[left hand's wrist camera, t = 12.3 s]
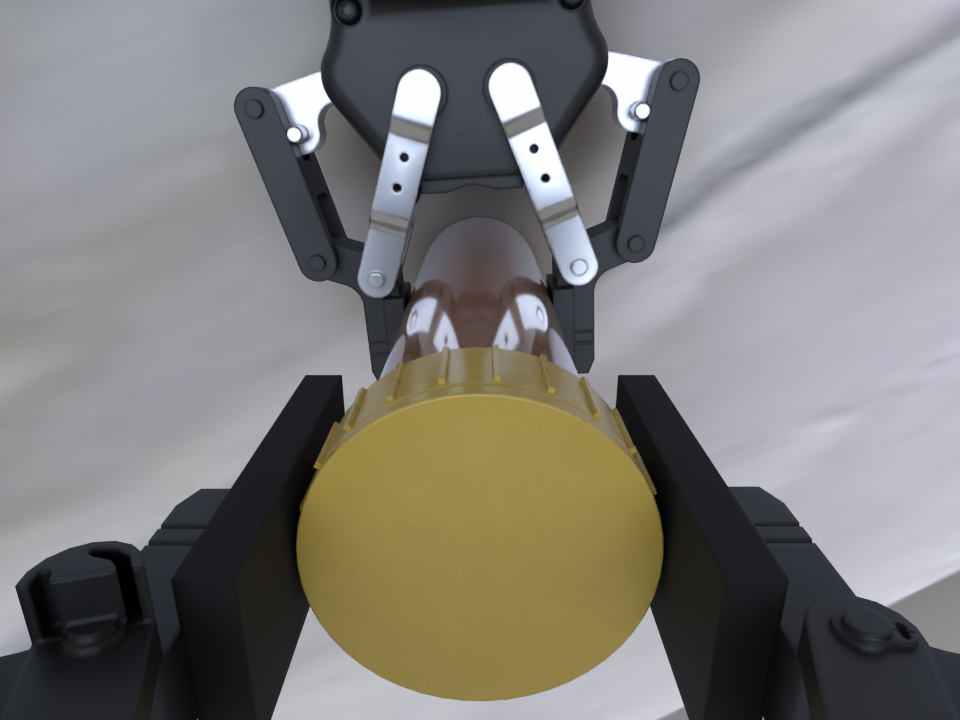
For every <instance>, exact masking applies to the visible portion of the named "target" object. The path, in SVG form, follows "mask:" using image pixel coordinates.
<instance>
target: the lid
mask: <svg viewBox="0 0 960 720" xmlns="http://www.w3.org/2000/svg"><path fill="white" fill-rule="evenodd" d="M314 468H316V472H315V474H314V476H313V478H312V480H311V483H310V485H309V487H308V489H307V491H306V494H305V496H304V498H303V500H302V502H301V505H300V509H299V511H301V513H300V517H299V521H298V526H297V538H296V555H297V566H298V571H299V575H300V579H301V584H302V587H303V590H304V592H305V595H306V597H307V600H308V602H309V605H310V607H311V608H312V610H313V612H314V614H315V615H316V617H317V619H318V621H319V622H320V624H321V625H322V626H323V628H324V629H325V630H326V632H327V633H328V634H329V635H330V637H331V638H332V639H333V640H334V641H335V642H336V643H337V644H338V645H339V646H340V647H341V648H342V649H343V650H344V651H345V652H346V653H347V654H348V655H349V656H351V657H352V658H353V659H355V660H356V661H357V662H358V663H360V664H361V665H362V666H364V667H365V668H367V669H369V670H370V671H372V672H374V673H375V674H377V675H378V676H380V677H382V678H384V679H386V680H388V681H391V682H393V683H395V684H397V685H399V686H402V687H405V688H408V689H411V690H413V691H416V692H419V693H423V694H427V695H432V696H436V697H440V698H447V699H455V700H463V701H493V700H507V699H513V698H518V697H524V696H529V695H533V694H536V693H540V692H543V691H547V690H550V689H552V688H555V687H557V686H560V685H562V684H565V683H568V682H570V681H572V680H574V679H575V678H577V677H579V676H581V675H583V674H585V673H587V672H588V671H590V670H591V669H593V668H594V667H596V666H597V665H599V664H600V663H601V662H603V661H604V660H606V659H607V658H608V657H609V656H610V655H611V654H612V653H614V652H615V651H616V650H617V649H618V648H619V647H620V646H621V645H622V644H623V643H624V642H625V641H626V640H627V639H628V637H629V636H630V635H631V634H632V633H633V632H634V630H635V629H636V628H637V626H638V625H639V623H640V622H641V620H642V619H643V617H644V616H645V614H646V612H647V610H648V608H649V606H650V604H651V602H652V600H653V598H654V595H655V592H656V589H657V586H658V583H659V579H660V576H661V570H662V563H663V557H664V536H663V529H662V523H661V517H660V513H659V510H658V507H657V504H656V501H655V498H654V495H655V494H657V492H656V489H655V487H654V484H653V482H652V480H651V478H650V476H649V474H648V472H647V469H646V467H645V465H644V463H643V461H642V459H641V456H640V454H639V452H638V450H637V448H636V446H634V444H633V442H632V440H631V437H630V435H629V433H628V431H627V429H626V427H625V424H624V422H623V420H622V418H621V416H620V414H619V412H618V410H617V409H616V408H614V409H613V410H611V408H610V407H609V406H608V404H607V403H606V402H605V401H604V400H603V399H602V398H601V397H600V396H599V395H598V394H597V393H596V392H595V390H594V389H592V388H591V386H590V384H589V381H588V379H587V378H585V377H584V376H583V377H582V378H581V379H580V378H579V377H577V376H575V375H574V374H572V373H570V372H569V371H567V370H565V369H564V368H562V367H560V366H558V365H556V364H554V363H552V362H549V361H548V360H547V356H545V355H543V354H541V355H540V357H537V356H533V355H530V354H526V353H523V352H519V351H514V350H507V349H501V348H499V345H498V344H492V348H486V347H471V348H460V349H451V350H449V346H447V347H443V348H442V352H437V353H433V354H429V355H426V356H424V357H421V358H418V359H415V360H412V361H410V362H408V363H406V364H403V362H402V361H401V362H399V363H397V364H396V367H395V369H394V370H392V371H391V372H389V373H388V374H386V375H385V376H383V377H382V378H380V379H379V380H377V381H376V382H375V383H373V384H372V385H371V386H370V387H369V388H368V389H367V390H365V389H364V388H363V387H362V388H361V389H360V390H359V392H358V394H357V396H356V399H355V401H354V403H353V405H352V406H351V407H350V408H349V409H348V411H347V412H346V414H345V415H344V417H343V419H342V420H341V422H340V423H337V422H334V424H333V426H332V428H331V430H330V433H329V435H328V437H327V439H326V441H325V443H324V445H323V448H322V450H321V452H320V454H319V456H318V458H317V460H316V463H315V465H314Z"/></svg>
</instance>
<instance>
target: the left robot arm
mask: <svg viewBox="0 0 960 720" xmlns="http://www.w3.org/2000/svg"><path fill="white" fill-rule="evenodd" d="M616 409H617V410H618V412H619V414H620V416H621V418H622V420H623V422H624V424H625V427H626V429H627V431H628V433H629V435H630V437H631V440H632V442H633V444H634V446H636V448H637V450H638V452H639V454H640V456H641V459H642V461H643V463H644V465H645V467H646V469H647V472H648V474H649V476H650V478H651V480H652V482H653V484H654V487H655V489H656V492H657V494H655V495H654V498H655V501H656V504H657V507H658V510H659V513H660V517H661V523H662V529H663V536H664V557H663V563H662V570H661V576H660V579H659V583H658V586H657V589H656V592H655V595H654V598H653V600H652V602H651V604H650V607H651V610H652V613H653V616H654V619H655V622H656V625H657V628H658V631H659V633H660V636H661V639H662V642H663V645H664V648H665V651H666V654H667V657H668V660H669V663H670V665H671V668H672V671H673V674H674V677H675V680H676V683H677V686H678V689H679V692H680V695H681V697H682V700H683V703H684V706H685V709H686V712H687V715H688V718H689V720H762V717H764V719H765V720H960V654H957V653H953V652H948V651H944V650H940V649H937V648H933V647H930V646H929V645H928V643H927V641H926V640H925V638H924V637H923V636H922V634H921V633H920V631H919V630H918V629H917V627H915V626H914V625H913V624H912V623H910V622H909V621H908V620H907V619H905V618H904V617H903V616H902V615H900V614H899V613H897V612H895V611H893V610H891V609H889V608H887V607H885V606H883V605H881V604H879V603H877V602H874V601H871V600H867V599H864V598H860V597H857V596H856V595H855V594H854V593H853V592H852V590H851V589H850V588H849V586H848V585H847V584H846V583H845V581H844V580H843V579H842V577H841V576H840V575H839V573H838V572H837V571H836V570H835V568H834V567H833V566H832V564H831V563H830V562H829V561H828V559H827V558H826V557H825V555H824V554H823V553H822V552H821V550H820V549H819V548H818V546H817V545H816V544H815V543H812V539H811V537H810V536H809V535H808V534H807V532H806V531H805V530H804V528H803V527H800V526H799V522H798V521H797V519H796V518H795V517H794V515H793V514H792V513H791V512H790V510H789V509H788V508H787V506H786V505H785V504H784V503H783V502H781V501H780V500H778V499H777V498H775V497H774V496H772V495H771V494H769V493H768V492H766V491H765V490H763V489H762V488H760V487H728V486H727V485H726V483H725V482H724V480H723V479H722V477H721V476H720V474H719V473H718V471H717V470H716V468H715V467H714V465H713V463H712V462H711V460H710V459H709V457H708V456H707V454H706V453H705V451H704V450H703V448H702V447H701V445H700V444H699V442H698V441H697V439H696V438H695V436H694V435H693V433H692V432H691V430H690V429H689V427H688V426H687V424H686V423H685V421H684V420H683V418H682V416H681V415H680V413H679V412H678V410H677V409H676V407H675V406H674V404H673V403H672V401H671V400H670V398H669V397H668V395H667V394H666V392H665V391H664V389H663V388H662V386H661V385H660V383H659V382H658V380H657V379H656V377H655V376H654V375H618V386H617V399H616ZM344 415H345V411H344V399H343V386H342V375H306V376H305V377H304V379H303V380H302V382H301V383H300V385H299V386H298V388H297V389H296V391H295V392H294V394H293V395H292V397H291V398H290V400H289V401H288V403H287V404H286V406H285V407H284V409H283V410H282V412H281V413H280V415H279V417H278V418H277V420H276V421H275V423H274V424H273V426H272V427H271V429H270V430H269V432H268V433H267V435H266V436H265V438H264V439H263V441H262V442H261V444H260V445H259V447H258V448H257V450H256V451H255V453H254V454H253V456H252V457H251V459H250V460H249V462H248V463H247V465H246V467H245V468H244V470H243V471H242V473H241V474H240V476H239V477H238V479H237V480H236V482H235V483H234V485H233V486H232V488H231V489H200V490H199V491H197V492H196V493H194V494H193V495H191V496H190V497H188V498H187V499H185V500H184V501H182V502H181V503H179V504H178V505H176V507H175V508H174V509H173V510H172V512H171V513H170V514H169V516H168V517H167V518H166V520H165V521H164V522H163V523H162V525H161V529H158V530H157V531H156V533H155V534H154V535H153V536H152V538H151V539H150V540H149V544H148V546H145V547H144V548H143V549H142V551H139V550H138V549H137V548H136V547H134V546H133V545H132V544H127V543H122V542H118V541H107V542H93V543H89V544H85V545H81V546H77V547H73V548H69V549H67V550H65V551H62V552H60V553H58V554H56V555H53V556H51V557H49V558H46V559H45V560H44V561H42V562H41V563H39V564H38V565H36V566H35V567H33V568H32V569H31V570H29V571H28V572H27V573H26V574H25V575H24V576H23V578H22V579H21V580H20V581H19V582H18V584H17V585H16V586H15V587H16V591H17V594H18V598H19V601H20V604H21V608H22V611H23V614H24V618H25V621H26V625H27V628H28V631H29V635H30V638H31V642H32V646H31V648H30V650H27V651H23V652H20V653H16V654H12V655H7V656H3V657H0V720H197V718H198V720H271V718H272V715H273V712H274V709H275V706H276V703H277V700H278V697H279V695H280V692H281V689H282V686H283V683H284V680H285V677H286V674H287V671H288V668H289V665H290V663H291V660H292V657H293V654H294V651H295V648H296V645H297V642H298V639H299V636H300V633H301V631H302V628H303V625H304V622H305V619H306V616H307V613H308V610H309V607H310V605H309V602H308V600H307V597H306V595H305V592H304V590H303V587H302V584H301V579H300V575H299V571H298V566H297V555H296V538H297V526H298V521H299V517H300V513H301V511H299V509H300V505H301V502H302V500H303V498H304V496H305V494H306V491H307V489H308V487H309V485H310V483H311V480H312V478H313V476H314V474H315V472H316V468H314V465H315V463H316V460H317V458H318V456H319V454H320V452H321V450H322V448H323V445H324V443H325V441H326V439H327V437H328V435H329V433H330V430H331V428H332V426H333V424H334V422H337V423H340V422H341V420H342V419H343V417H344Z"/></svg>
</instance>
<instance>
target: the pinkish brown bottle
mask: <svg viewBox="0 0 960 720" xmlns="http://www.w3.org/2000/svg"><path fill="white" fill-rule="evenodd" d="M492 344H498V345H499V348H501V349H507V350H514V351H519V352H523V353H526V354H530V355H533V356H537V357H540V355H541V354H543V355H545V356H547V360H548V361H549V362H552V363H554V364H556V365H558V366H560V367H562V368H564V369H565V370H567V371H569V372H570V373H572V374H574V375H575V376H577V377H579V374H578V371H577V369H576V366H575V363H574V361H573V358H572V355H571V353H570V350H569V347H568V345H567V342H566V339H565V337H564V334H563V331H562V329H561V326H560V323H559V321H558V318H557V315H556V313H555V310H554V307H553V305H552V302H551V299H550V297H549V294H548V291H547V289H546V286H545V283H544V281H543V278H542V275H541V273H540V270H539V267H538V264H537V262H536V259H535V256H534V254H533V251H532V249H531V247H530V245H529V244H528V242H527V241H526V239H525V238H524V237H523V236H522V235H521V234H520V233H519V232H518V231H517V230H516V229H515V228H513V227H512V226H510V225H509V224H507V223H505V222H502V221H500V220H497V219H494V218H488V217H472V218H467V219H463V220H460V221H457V222H455V223H453V224H451V225H450V226H448V227H447V228H445V229H444V230H443V231H442V232H441V233H440V234H438V235H437V237H436V238H435V239H434V240H433V242H432V243H431V245H430V247H429V249H428V251H427V253H426V256H425V259H424V261H423V264H422V267H421V269H420V272H419V275H418V277H417V280H416V283H415V285H414V288H413V291H412V293H411V296H410V299H409V301H408V304H407V307H406V309H405V312H404V315H403V317H402V320H401V323H400V325H399V328H398V331H397V333H396V336H395V339H394V341H393V344H392V347H391V349H390V352H389V355H388V357H387V360H386V363H385V365H384V368H383V371H382V373H381V376H380V378H382V377H383V376H385V375H386V374H388V373H389V372H391V371H392V370H394V369H395V367H396V364H397V363H399V362H401V361H402V362H403V364H406V363H408V362H410V361H412V360H415V359H418V358H421V357H424V356H426V355H429V354H433V353H437V352H442V348H443V347H447V346H449V350H451V349H460V348H471V347H486V348H492ZM579 378H580V377H579Z"/></svg>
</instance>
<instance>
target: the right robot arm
mask: <svg viewBox="0 0 960 720" xmlns="http://www.w3.org/2000/svg"><path fill="white" fill-rule="evenodd" d="M329 3H330V11H331V30H330V37H329V41H328V45H327V48H326V51H325V53H324V55H323V58H322V62H321V71H319V72H317V73H314V74H311V75H308V76H305V77H302V78H300V79H297V80H294V81H291V82H288V83H285V84H283V85H280V86H277V87H274V88H271V89H270V88H261V87H247V88H245V89H243V90H241V91H240V92H239V93H238V95H237V96H236V99H235V102H234V110H235V114H236V117H237V119H238V122H239V124H240V126H241V129H242V131H243V134H244V136H245V138H246V141H247V143H248V146H249V148H250V150H251V153H252V155H253V157H254V160H255V162H256V165H257V167H258V169H259V172H260V174H261V177H262V179H263V181H264V184H265V186H266V189H267V191H268V193H269V196H270V198H271V201H272V203H273V205H274V208H275V210H276V213H277V215H278V217H279V220H280V222H281V225H282V227H283V229H284V232H285V234H286V237H287V239H288V241H289V244H290V246H291V249H292V251H293V253H294V256H295V258H296V260H297V263H298V265H299V268H300V270H301V272H302V273H303V274H304V275H305V276H306V277H307V278H309V279H310V280H313V281H318V282H319V281H325V280H330V281H333V282H337V283H340V284H344V285H347V286H349V287H351V288H353V289H354V290H355V291H356V292H357V293H358V294H359V295H360V297H361V298H362V301H363V304H364V310H365V318H366V326H367V334H368V342H369V350H370V355H371V365H372V372H373V374H374V375H375V377H376V379H377V380H379V379H380V376H381V373H382V371H383V368H384V365H385V363H386V360H387V357H388V355H389V352H390V349H391V347H392V344H393V341H394V339H395V336H396V333H397V331H398V328H399V325H400V323H401V320H402V317H403V315H404V312H405V309H406V307H407V304H408V301H409V299H410V296H411V285H410V282H405V283H404V281H403V272H402V269H403V266H404V262H405V258H406V254H407V250H408V246H409V242H410V238H411V235H412V231H413V227H414V223H415V220H416V216H417V213H418V210H419V206H420V202H421V198H422V194H433V193H447V192H450V191H453V190H455V189H458V188H461V187H464V186H467V185H470V184H475V185H479V186H484V187H489V188H494V189H510V188H523V185H524V187H525V190H526V192H527V195H528V197H529V200H530V202H531V204H532V207H533V209H534V212H535V214H536V216H537V219H538V221H539V224H540V226H541V229H542V231H543V234H544V236H545V239H546V241H547V244H548V246H549V249H550V251H551V254H552V272H553V274H546V279H547V291H548V294H549V297H550V299H551V302H552V305H553V307H554V310H555V313H556V315H557V318H558V321H559V323H560V326H561V329H562V331H563V334H564V337H565V339H566V342H567V345H568V347H569V350H570V353H571V355H572V358H573V361H574V363H575V366H576V369H577V371H578V374H580V373H589V371H590V368H591V366H592V363H593V361H594V288H595V284H596V282H597V280H598V278H599V277H600V276H601V275H602V274H603V273H604V272H606V271H607V270H609V269H611V268H614V267H616V266H618V265H621V264H623V263H625V262H631V263H638V262H641V261H644V260H645V259H647V258H648V257H649V256H650V255H651V254H652V252H653V250H654V247H655V244H656V240H657V237H658V233H659V229H660V226H661V222H662V218H663V215H664V211H665V207H666V204H667V200H668V196H669V193H670V189H671V186H672V182H673V178H674V175H675V171H676V167H677V164H678V160H679V156H680V153H681V149H682V145H683V142H684V138H685V134H686V131H687V127H688V124H689V120H690V116H691V113H692V109H693V105H694V102H695V98H696V94H697V91H698V87H699V83H700V74H699V71H698V69H697V67H696V65H695V64H694V63H693V62H691V61H690V60H687V59H684V58H679V59H670V60H666V61H662V62H660V61H655V60H650V59H645V58H640V57H635V56H631V55H626V54H621V53H616V52H611V51H608V47H607V44H606V41H605V38H604V36H603V35H602V33H601V31H600V29H599V27H598V25H597V23H596V20H595V17H594V15H593V10H592V6H591V0H329ZM599 86H601V87H603V88H605V89H606V90H607V91H608V92H609V94H610V96H611V98H612V105H613V106H612V117H613V120H614V122H615V124H616V125H617V126H618V127H619V128H620V129H622V130H624V131H627V135H626V139H625V143H624V148H623V152H622V156H621V160H620V164H619V168H618V172H617V176H616V180H615V184H614V188H613V192H612V196H611V201H610V205H609V209H608V213H607V217H606V221H605V222H602V223H600V224H598V225H595V226H593V227H591V228H588V229H585V226H584V224H583V221H582V218H581V216H580V213H579V210H578V205H577V202H576V199H575V196H574V193H573V191H572V188H571V185H570V183H569V180H568V177H567V175H566V172H565V169H564V167H563V164H562V162H561V159H560V156H559V154H558V150H559V149H560V147H561V145H562V144H563V142H564V141H565V139H566V138H567V136H568V135H569V133H570V131H571V130H572V128H573V127H574V125H575V124H576V122H577V121H578V119H579V117H580V116H581V114H582V113H583V111H584V110H585V108H586V107H587V105H588V103H589V102H590V100H591V99H592V97H593V96H594V94H595V93H596V91H597V90H598V88H599ZM332 105H334V106H335V107H336V108H337V109H338V110H339V111H340V113H341V114H342V115H343V116H344V117H345V119H346V120H347V121H348V122H349V123H350V124H351V126H352V127H353V128H354V129H355V130H356V132H357V133H358V134H359V135H360V136H361V138H362V139H363V140H364V141H365V142H366V143H367V145H368V146H369V147H370V148H371V149H372V151H373V152H374V153H375V154H376V155H377V156H378V158H379V159H380V160H381V161H382V164H381V168H380V172H379V177H378V181H377V185H376V190H375V194H374V198H373V203H372V207H371V212H370V218H369V221H370V223H369V229H368V233H367V237H366V242H365V243H363V242H360V241H356V240H353V239H349V238H347V236H346V233H345V231H344V228H343V225H342V223H341V220H340V218H339V215H338V213H337V210H336V207H335V205H334V202H333V200H332V197H331V194H330V192H329V189H328V187H327V184H326V181H325V179H324V176H323V174H322V171H321V169H320V166H319V163H318V161H317V158H316V156H315V153H314V152H316V151H318V150H319V149H320V148H321V147H322V146H323V145H324V143H325V140H326V129H325V123H324V120H325V115H326V112H327V111H328V109H329V108H330V107H331V106H332Z"/></svg>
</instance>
